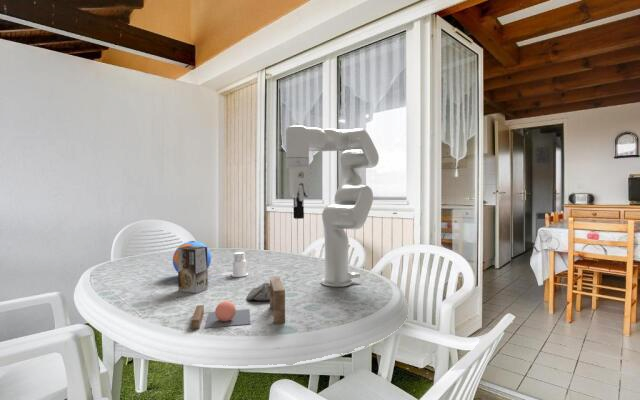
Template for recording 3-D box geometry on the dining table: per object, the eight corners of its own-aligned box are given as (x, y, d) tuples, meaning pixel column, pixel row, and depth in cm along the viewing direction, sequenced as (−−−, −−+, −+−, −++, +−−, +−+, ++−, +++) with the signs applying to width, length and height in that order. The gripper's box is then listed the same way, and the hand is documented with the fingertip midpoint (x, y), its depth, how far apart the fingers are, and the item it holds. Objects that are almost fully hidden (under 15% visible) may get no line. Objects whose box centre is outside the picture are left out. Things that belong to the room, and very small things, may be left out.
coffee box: (208, 289, 130) (208, 246, 130) (195, 293, 124) (195, 249, 124) (190, 286, 134) (190, 245, 134) (177, 290, 128) (176, 247, 128)
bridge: (279, 306, 111) (279, 277, 111) (285, 323, 97) (285, 290, 96) (269, 306, 110) (269, 278, 110) (274, 324, 96) (274, 290, 96)
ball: (213, 317, 100) (232, 319, 101) (213, 322, 94) (233, 325, 96) (217, 297, 100) (236, 300, 102) (218, 302, 95) (238, 305, 96)
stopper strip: (203, 313, 104) (203, 305, 104) (199, 328, 93) (199, 319, 93) (196, 313, 104) (196, 305, 104) (191, 329, 92) (191, 320, 92)
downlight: (252, 274, 152) (251, 252, 152) (240, 278, 146) (239, 254, 146) (239, 273, 157) (238, 251, 157) (227, 276, 151) (226, 253, 151)
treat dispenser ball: (217, 273, 155) (217, 239, 154) (198, 282, 140) (197, 244, 139) (187, 271, 158) (186, 238, 158) (164, 280, 143) (164, 243, 143)
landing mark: (249, 309, 107) (249, 309, 107) (250, 324, 96) (250, 323, 96) (209, 312, 105) (209, 312, 105) (205, 328, 93) (205, 327, 93)
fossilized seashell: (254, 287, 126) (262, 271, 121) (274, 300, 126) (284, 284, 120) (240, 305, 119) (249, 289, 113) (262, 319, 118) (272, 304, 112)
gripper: (314, 162, 109) (314, 220, 110) (303, 164, 123) (304, 216, 124) (290, 162, 107) (291, 221, 108) (283, 164, 121) (284, 216, 122)
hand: (298, 218), depth 116 cm, fingers closed
